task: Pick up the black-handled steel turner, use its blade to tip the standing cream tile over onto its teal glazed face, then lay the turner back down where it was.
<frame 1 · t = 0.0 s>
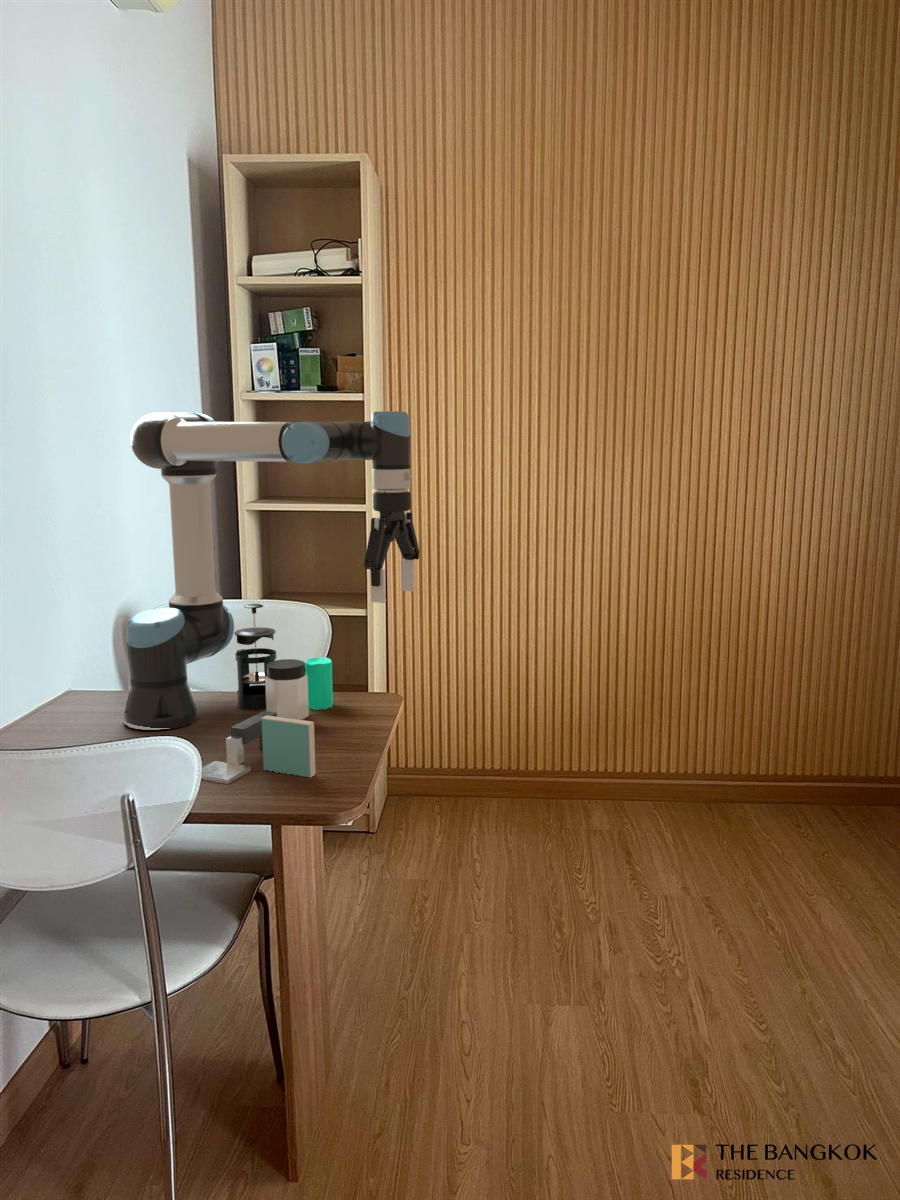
hand: (393, 596, 194), 28 cm above the table, tool pointing down, fingers open, 13 cm apart
candle: (319, 706, 216), on the table
french press: (256, 704, 218), on the table
jar: (287, 718, 208), on the table
turner: (242, 762, 180), on the table
tile: (289, 772, 175), on the table
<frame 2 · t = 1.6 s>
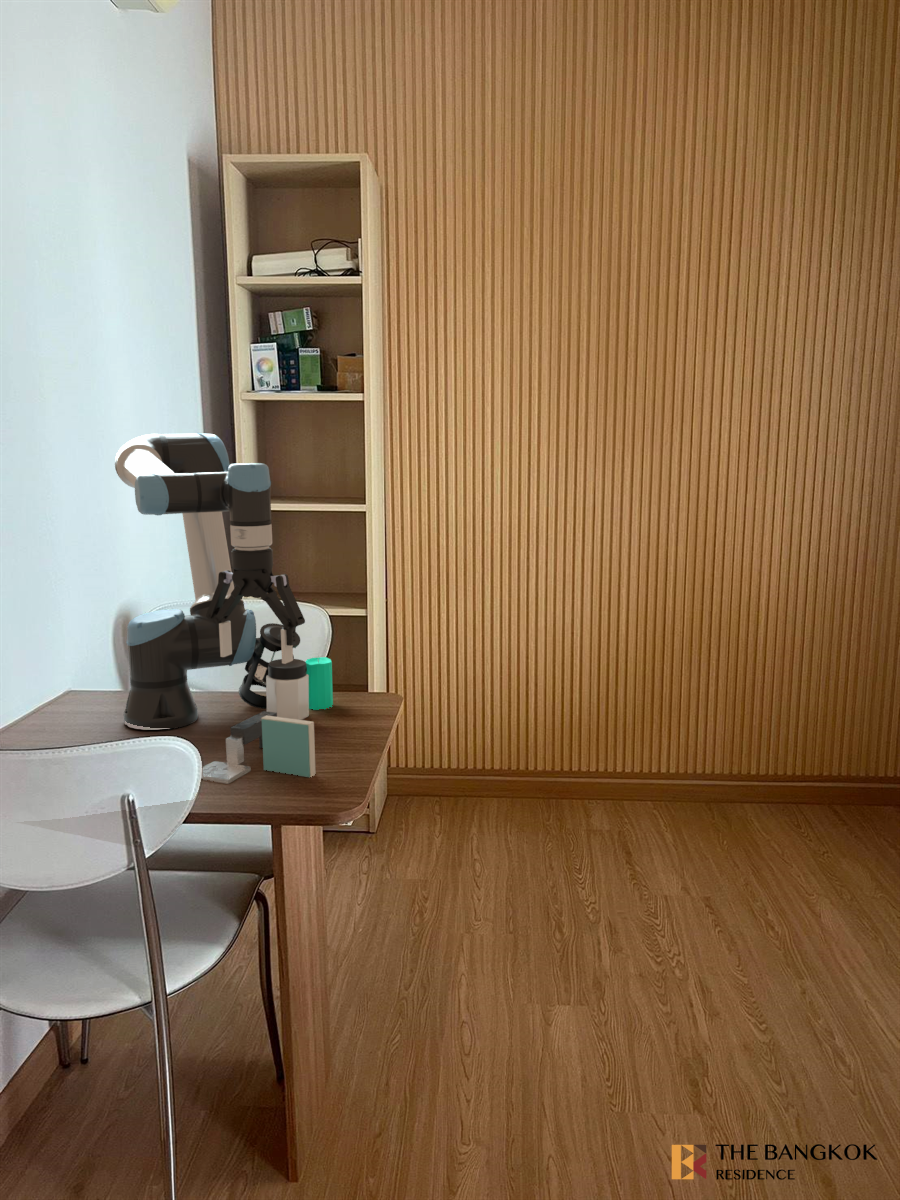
hand: (256, 658, 182), 19 cm above the table, tool pointing down, fingers open, 13 cm apart
french press: (257, 695, 217), point 2 cm above the table, touching arm, jar
jar: (287, 717, 208), on the table, touching french press
everything else where it was.
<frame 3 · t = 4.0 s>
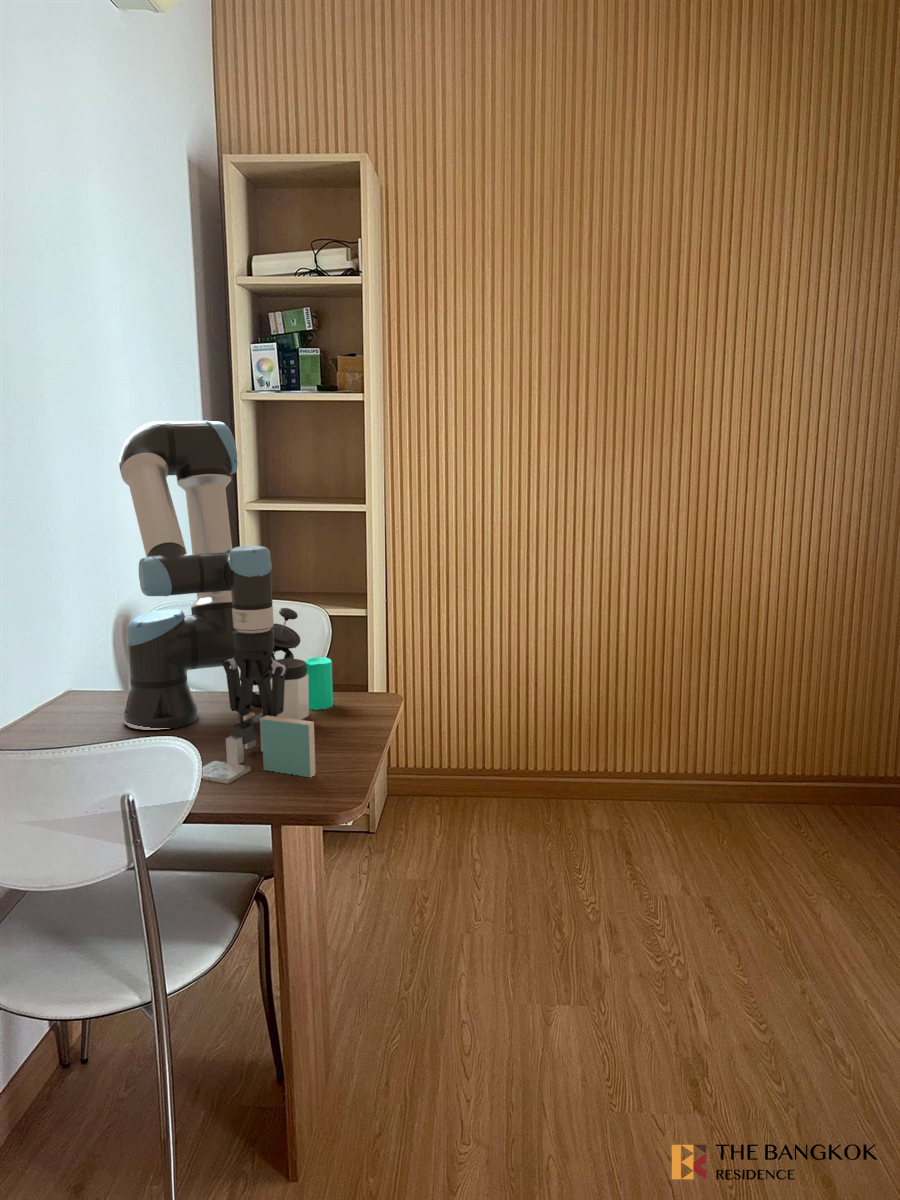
hand: (258, 747, 185), 1 cm above the table, tool pointing down, fingers closed on turner, 3 cm apart
turner: (242, 762, 180), on the table, touching gripper
everything else where it was.
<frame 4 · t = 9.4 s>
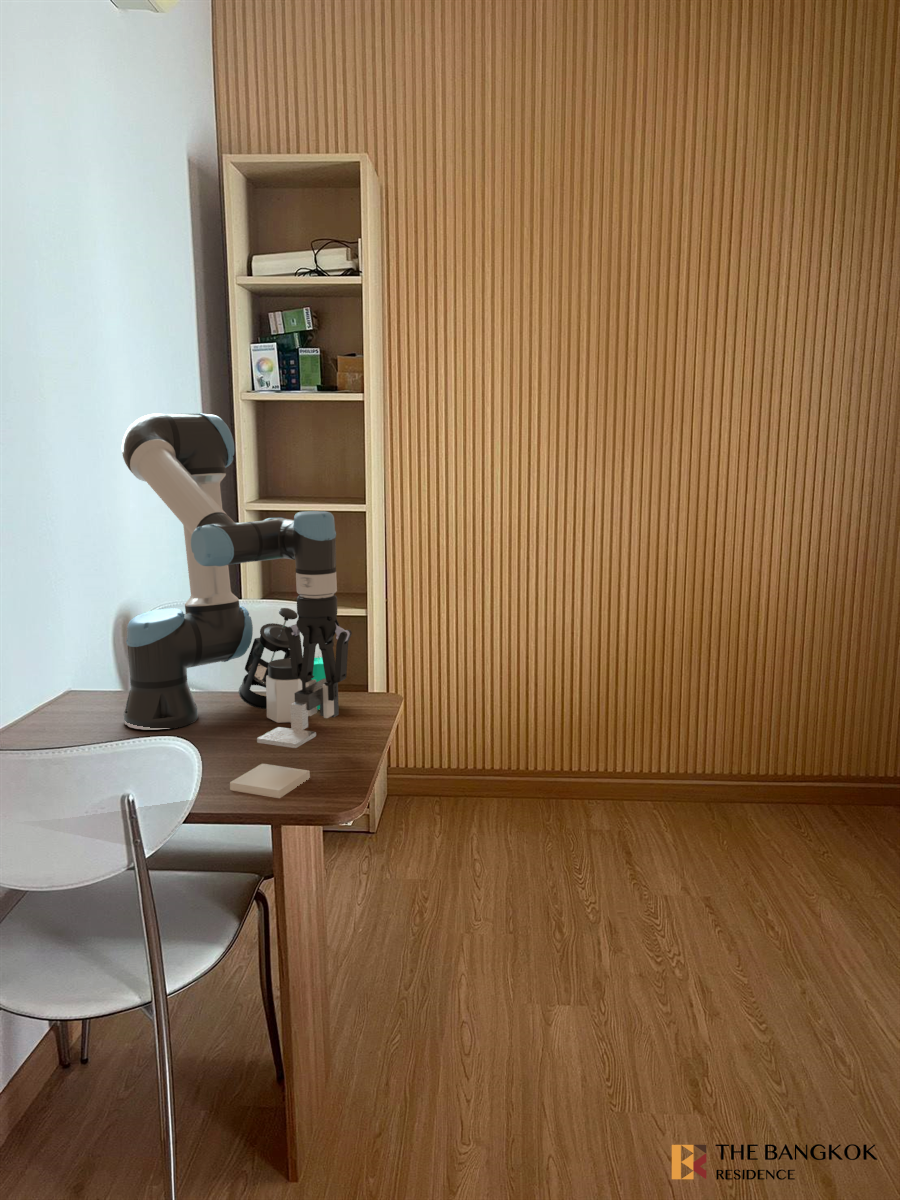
hand: (320, 714, 184), 8 cm above the table, tool pointing down, fingers closed on turner, 3 cm apart
french press: (257, 695, 217), point 2 cm above the table, touching jar
turner: (305, 728, 180), point 6 cm above the table, touching gripper
tile: (285, 771, 174), point 1 cm above the table, tilted 90°
everything else where it was.
when the fingers open (3 cm above the table, at t = 14.6 s): turner drops 2 cm, on the table.
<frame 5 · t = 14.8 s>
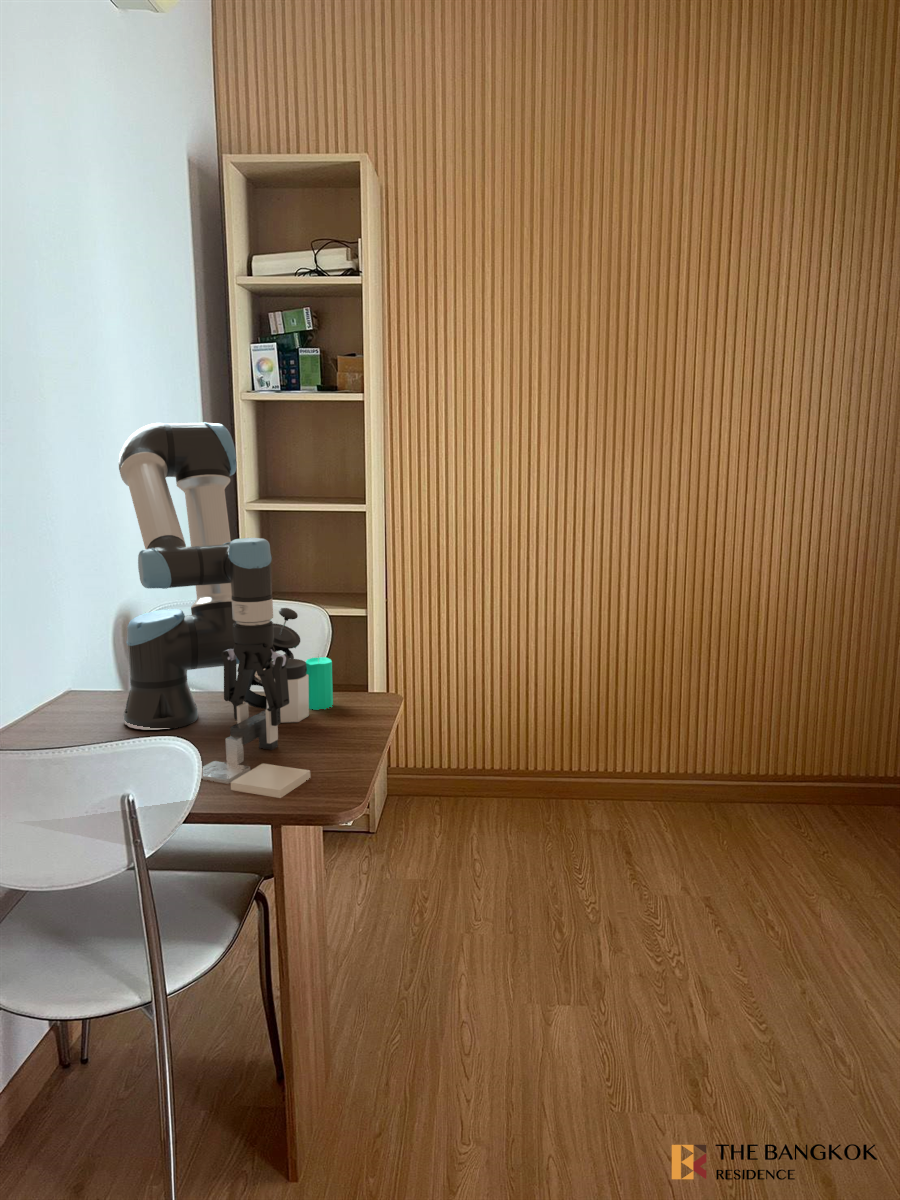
hand: (258, 738, 185), 3 cm above the table, tool pointing down, fingers open, 6 cm apart
french press: (257, 695, 217), point 2 cm above the table, touching arm, jar
turner: (241, 762, 181), on the table
everything else where it was.
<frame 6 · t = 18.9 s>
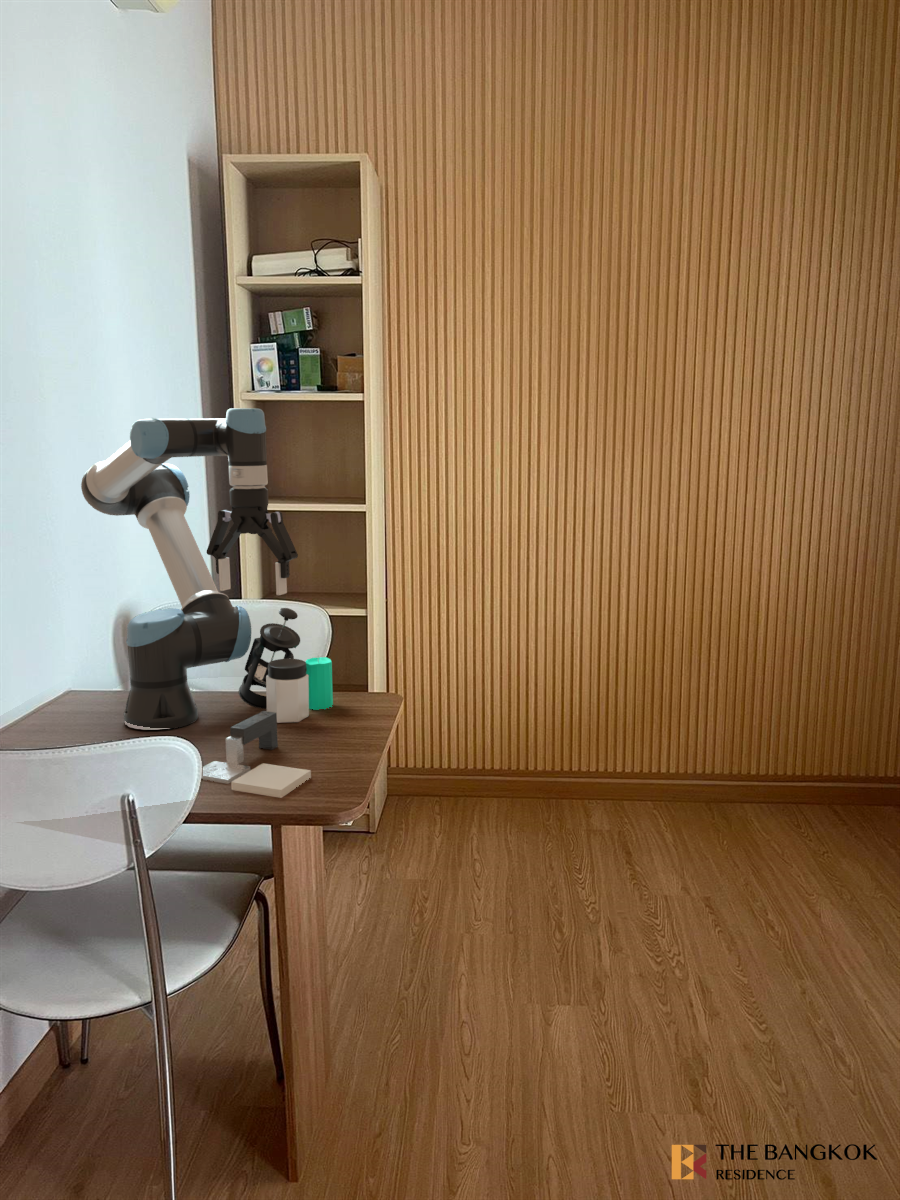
hand: (253, 592, 196), 29 cm above the table, tool pointing down, fingers open, 13 cm apart
french press: (257, 695, 217), point 2 cm above the table, touching jar
everything else where it was.
at the end: tile tilted 90°; tile inside the target area (0.5 cm from its centre), point 0.6 cm above the table; turner inside the target area (0.1 cm from its centre), on the table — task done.
